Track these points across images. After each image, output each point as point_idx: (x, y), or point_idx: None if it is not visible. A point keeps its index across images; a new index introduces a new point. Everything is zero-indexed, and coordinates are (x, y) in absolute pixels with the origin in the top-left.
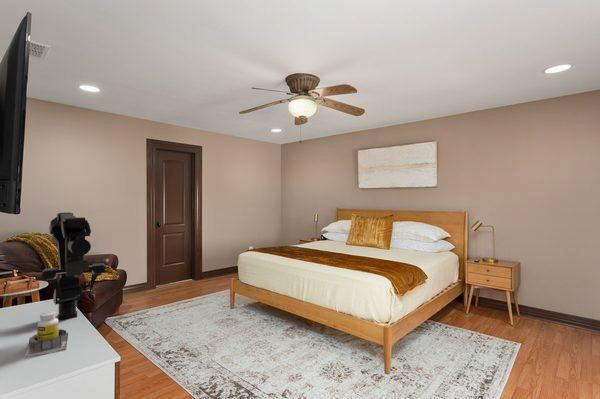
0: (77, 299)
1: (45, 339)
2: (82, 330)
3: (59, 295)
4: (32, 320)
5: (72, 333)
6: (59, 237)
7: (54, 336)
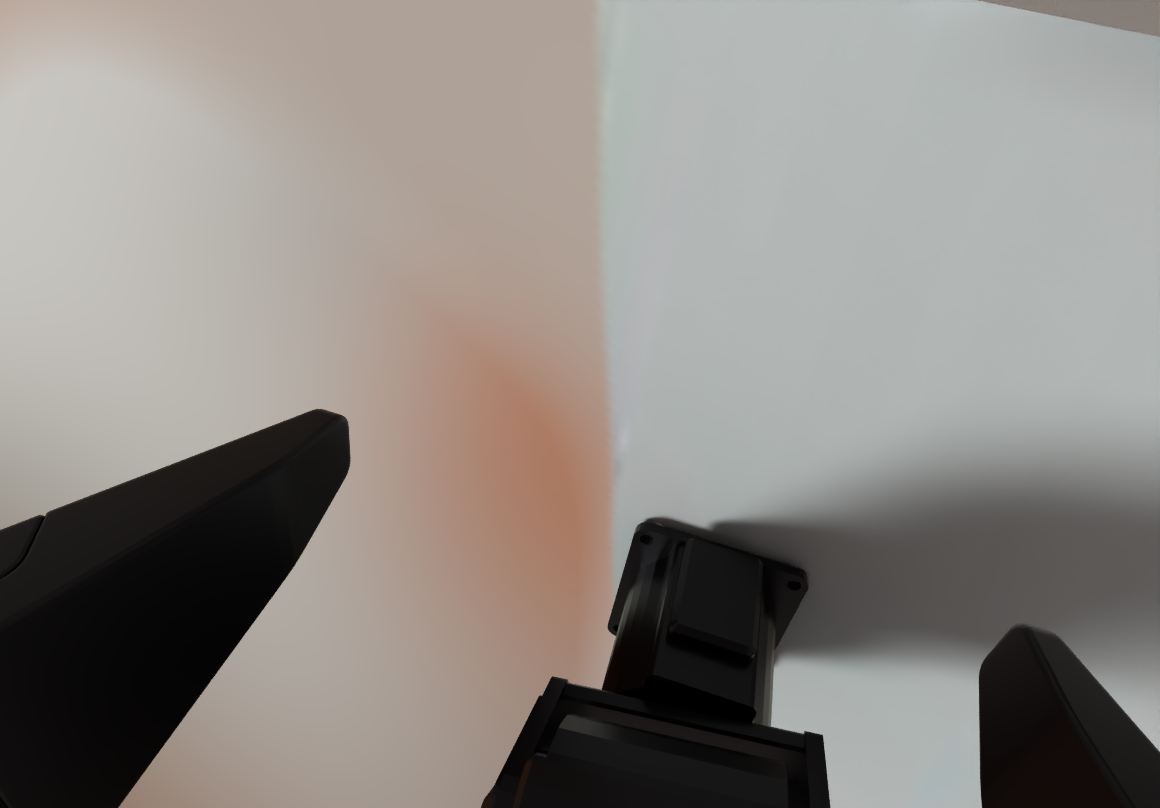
0: (584, 692)
1: None
2: (697, 38)
3: (1053, 644)
4: (962, 717)
5: (831, 15)
6: None
7: None
